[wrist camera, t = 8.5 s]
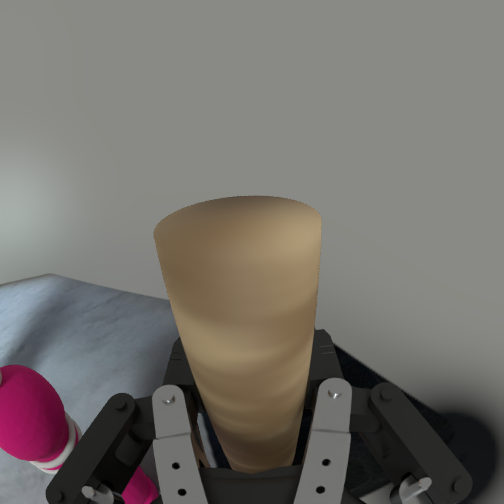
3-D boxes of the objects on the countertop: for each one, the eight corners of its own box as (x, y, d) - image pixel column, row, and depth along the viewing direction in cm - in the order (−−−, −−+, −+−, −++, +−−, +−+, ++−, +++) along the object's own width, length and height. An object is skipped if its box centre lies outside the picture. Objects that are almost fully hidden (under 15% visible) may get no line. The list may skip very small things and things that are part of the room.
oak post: (227, 482, 12) (127, 263, 5) (228, 428, 16) (176, 201, 9) (296, 479, 12) (344, 249, 5) (291, 425, 16) (304, 192, 9)
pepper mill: (91, 507, 13) (-69, 382, 4) (110, 457, 19) (-10, 312, 10) (155, 533, 12) (-27, 442, 3) (170, 476, 18) (50, 330, 10)
